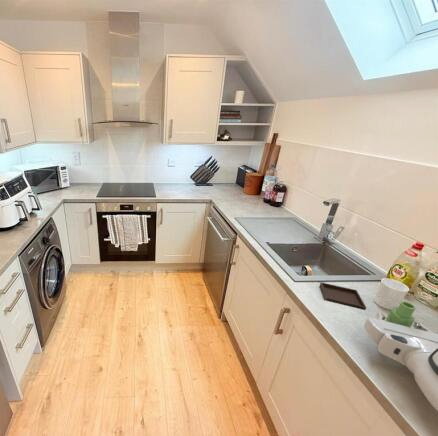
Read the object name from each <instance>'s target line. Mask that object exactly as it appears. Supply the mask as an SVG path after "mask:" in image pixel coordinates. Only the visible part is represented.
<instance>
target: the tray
mask: <svg viewBox="0 0 438 436" xmlns="http://www.w3.org/2000/svg"><path fill="white" fill-rule="evenodd" d="M318 286H319V289H320V292H321V295H322V298H323V300H324V301H325V302H330V303H334V304H338V305H341V306H345V307H346V306H347V307H349V308H350V307H351V308H355V309H359V310H364V311H366V309H367V306H366V305H365V302H364V300H363V299H362V297H361V295H360V294H359V292H358V290H357V289H353V288H349V287H344V286H339V285H335V284H330V283H326V282H320V284H319V285H318Z"/></svg>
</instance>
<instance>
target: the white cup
mask: <svg viewBox="0 0 438 436" xmlns="http://www.w3.org/2000/svg"><path fill="white" fill-rule="evenodd" d="M409 291H410V288H409V286H407V284H405V283H403V282H401V281H399V280H397V279H392V278H386V277H384V278H382V279H381V281H380V283H379V285H378V288H377V290H376V291H375V292H376V293H375V296H374V298H373V301H374V303H375V304H376V305H377V306H379V307H381V308H383V309H385V310H390V311H391V309H397V308H398V307H399V305H400V303H401V301H404V299H405V297H406V295H407V294H408V293H409Z"/></svg>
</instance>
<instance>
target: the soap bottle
mask: <svg viewBox="0 0 438 436" xmlns="http://www.w3.org/2000/svg"><path fill="white" fill-rule="evenodd" d="M415 310H416V306H415V305H414V304H412V302H408V301H405V300H402V301H401V303H400V304H399V305H398V306H397V308H396V309H391V310H390V311H389V313H388V314H387V317H386V318H385V319H384V321H387V322H391V323H395V324H399V325H403V326H407V327H411V328H412V326H413V324H414V322H415V317H414V315H413V313H414V312H415Z"/></svg>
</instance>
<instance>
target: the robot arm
mask: <svg viewBox="0 0 438 436" xmlns="http://www.w3.org/2000/svg"><path fill="white" fill-rule="evenodd" d="M375 317H376V318H374V317H368V318H366V320H365V322H364V324H363V327H364V329H365V331H366V333H367V335H368V337H369V338H370V339H371V341H372V342H373V343H374V344H376V345H377V351H378V352H379V353H380V354H381V355H383V356H385V357H388V358H390V359H392V360H394V361H396V362H398V363H399V364H401V365H403V366H405V367H407V369H408V370H409V372H411V373H412V374H413V377H414V380H415V382H416V384H417V386H418V388H419V389H420V391H421V392H422V394H423V395H424V397H425V398H426V399H427V401H428V402H429V404H430V405H431V406H432V407H433V408H434V410H436V411H437V412H438V333H436V332H434V331H432V330H430V329H429V328H427V327H425V326H424V324H422V323H421V322H416V321H414V322H413V323H412V326H411V327H407V326H403V325H399V324H395V323H391V322H387V321H385V320H386V318H387V317H386V316H385V314H384V313H380V312H377V314H376V315H375Z"/></svg>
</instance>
